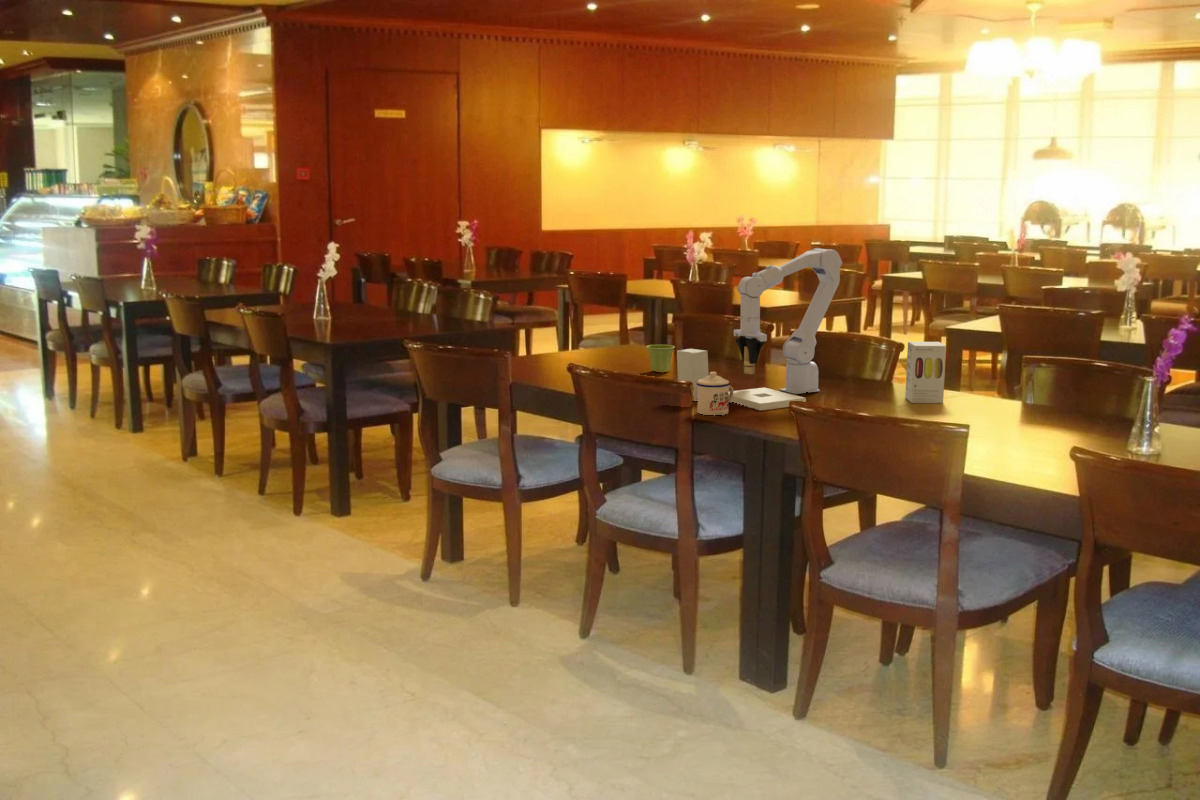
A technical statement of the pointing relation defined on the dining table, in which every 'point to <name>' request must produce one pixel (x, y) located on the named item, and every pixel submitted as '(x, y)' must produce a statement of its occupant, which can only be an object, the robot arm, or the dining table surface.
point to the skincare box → (692, 367)
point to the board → (764, 398)
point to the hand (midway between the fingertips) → (749, 362)
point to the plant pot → (660, 357)
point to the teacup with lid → (714, 395)
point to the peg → (748, 363)
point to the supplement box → (925, 372)
